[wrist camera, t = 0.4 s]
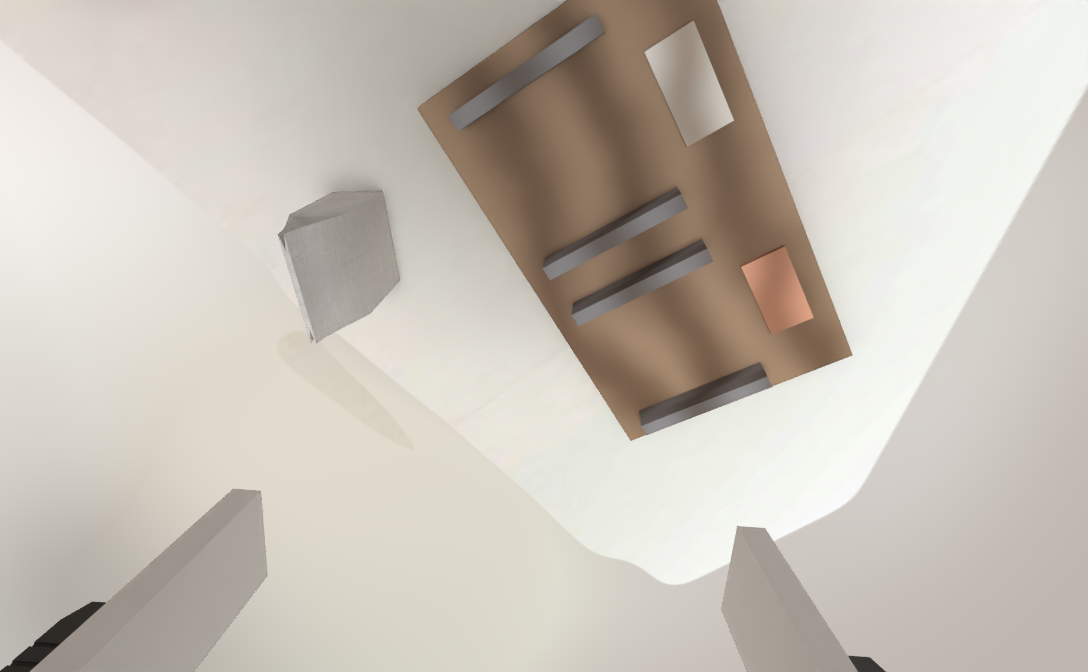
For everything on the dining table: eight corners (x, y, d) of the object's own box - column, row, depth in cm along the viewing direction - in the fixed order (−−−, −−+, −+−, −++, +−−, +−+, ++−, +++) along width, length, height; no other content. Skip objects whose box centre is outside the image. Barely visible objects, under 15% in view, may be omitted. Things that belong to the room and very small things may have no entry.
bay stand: (682, -80, 28) (690, -94, 25) (846, 348, 39) (864, 369, 36) (421, 106, 33) (406, 111, 31) (630, 433, 44) (632, 456, 42)
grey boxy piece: (382, 190, 36) (314, 233, 28) (400, 279, 39) (343, 343, 31) (333, 192, 37) (250, 234, 28) (354, 280, 40) (285, 343, 31)
